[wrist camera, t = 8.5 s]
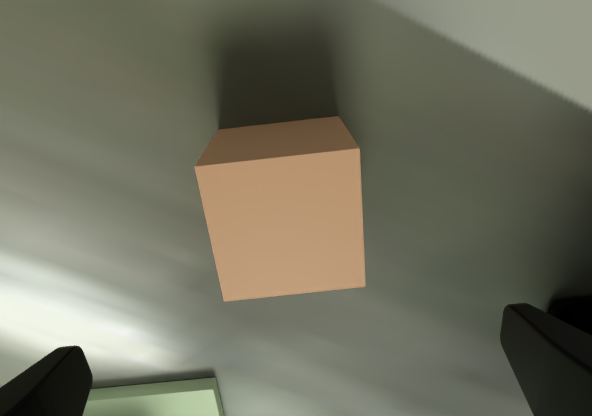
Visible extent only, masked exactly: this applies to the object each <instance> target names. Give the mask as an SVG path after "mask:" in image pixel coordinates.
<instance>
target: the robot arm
mask: <svg viewBox="0 0 592 416" xmlns="http://www.w3.org/2000/svg"><path fill="white" fill-rule="evenodd" d="M562 309H563V310H562ZM500 340H501V345H502V347H503V350H504V352H505V354H506V356H507V358H508V361H509V363H510V365H511V367H512V369H513V372H514V374H515V376H516V378H517V380H518V382H519V385H520V387H521V389H522V391H523V393H524V396H525V398H526V400H527V402H528V404H529V406H530V408H531V410H532V412H533V415H534V416H592V296H588V297H578V298H568V299H560V300H557V301H555V302H554V303H553V304H552V305H551V307H550V310H549V314H548V313H546V312H544V311H542V310H540V309H538V308H536V307H534V306H532V305H529V304H527V303H519V304H509V305H507V306H506V307H505V308H504V311H503V318H502V325H501V332H500ZM91 387H92V373H91V370H90V368H89V365H88V363H87V360H86V358H85V355H84V353H83V350H82V349H81V348H80V347H79V346H66V347H59V348H57V349H55V350H54V351H52V352H51V353H50V354H48V355H47V356H45V357H44V358H42V359H41V360H40V361H38V362H37V363H35V364H34V365H32V366H31V367H29V368H28V369H27V370H25V371H24V372H22V373H21V374H19V375H18V376H17V377H15V378H14V379H12V380H11V381H9V382H8V383H6V384H5V385H4V386H2V387H1V388H0V416H83V413H84V410H85V406H86V403H87V400H88V397H89V393H90V390H91Z"/></svg>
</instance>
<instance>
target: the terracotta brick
mask: <svg viewBox="0 0 592 416" xmlns="http://www.w3.org/2000/svg"><path fill="white" fill-rule="evenodd" d="M195 171H196V176H197V180H198V185H199V190H200V194H201V199H202V203H203V208H204V212H205V217H206V222H207V226H208V231H209V235H210V240H211V244H212V249H213V254H214V258H215V263H216V267H217V272H218V276H219V281H220V286H221V290H222V295H223V299H224V301H234V300H243V299H253V298H262V297H272V296H281V295H290V294H300V293H309V292H319V291H328V290H338V289H347V288H357V287H366V285H365V262H364V239H363V215H362V192H361V168H360V148H359V147H358V145H357V143H356V142H355V140H354V139H353V137H352V136H351V134H350V133H349V131H348V129H347V128H346V126H345V125H344V123H343V122H342V120H341V119H340V117H339V116H334V117H325V118H316V119H307V120H298V121H290V122H281V123H272V124H263V125H254V126H245V127H237V128H228V129H219V130H218V131H217V132H216V134H215V136H214V137H213V139H212V140H211V142H210V143H209V145H208V146H207V148H206V150H205V151H204V153H203V154H202V156H201V157H200V159H199V160H198V162H197V164H196V165H195Z"/></svg>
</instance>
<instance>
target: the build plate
mask: <svg viewBox="0 0 592 416" xmlns="http://www.w3.org/2000/svg"><path fill="white" fill-rule="evenodd" d="M83 416H224V412H223V408H222V404H221V399H220V395H219V391H218V387H217V382H216V378H215V377H214V378H204V379H193V380H183V381H172V382H162V383H151V384H141V385H130V386H120V387H109V388H99V389H91V390H90V393H89V397H88V400H87V403H86V406H85V410H84V413H83Z"/></svg>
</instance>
